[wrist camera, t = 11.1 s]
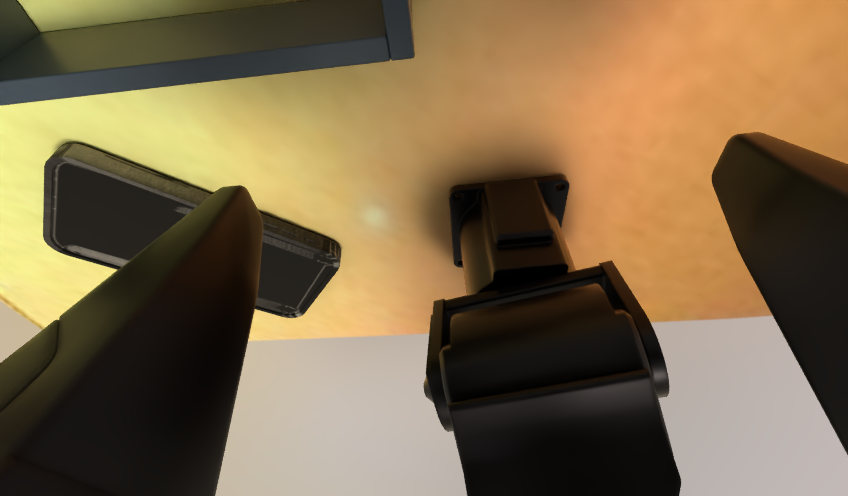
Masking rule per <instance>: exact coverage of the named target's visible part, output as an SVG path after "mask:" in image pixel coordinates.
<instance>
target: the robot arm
mask: <svg viewBox="0 0 848 496" xmlns="http://www.w3.org/2000/svg"><path fill="white" fill-rule="evenodd" d="M558 184H561V185H560V186H557V185H558ZM712 184H713V187H714V190H715V192H716V195H717V197H718V200H719V203H720V205H721V208H722V210H723V213H724V216H725V218H726V221H727V223H728V226H729V228H730V231H731V234H732V236H733V239H734V241H735V244H736V246H737V248H738V251H739V253H740V255H741V257H742V259H743V261H744V263H745V265H746V266H747V268H748V270H749V272H750V274H751V276H752V278H753V279H754V281H755V283H756V285H757V287H758V289H759V291H760V292H761V294H762V296H763V298H764V300H765V302H766V304H767V306H768V307H769V309H770V311H771V313H772V315H773V317H774V319H775V320H776V322H777V324H778V326H779V328H780V330H781V331H782V333H783V335H784V337H785V339H786V341H787V343H788V345H789V347H790V348H791V350H792V352H793V354H794V356H795V358H796V360H797V361H798V363H799V365H800V367H801V369H802V371H803V373H804V375H805V376H806V378H807V380H808V382H809V384H810V386H811V388H812V389H813V391H814V393H815V395H816V397H817V399H818V401H819V402H820V404H821V406H822V408H823V410H824V412H825V414H826V416H827V417H828V419H829V421H830V423H831V425H832V427H833V429H834V430H835V432H836V434H837V436H838V438H839V440H840V442H841V443H842V445H843V447H844V449H845V451H846V453H847V455H848V164H845V163H843V162H840V161H837V160H835V159H832V158H829V157H826V156H824V155H821V154H818V153H815V152H813V151H810V150H807V149H805V148H802V147H799V146H796V145H794V144H791V143H788V142H786V141H783V140H780V139H777V138H775V137H772V136H769V135H767V134H764V133H760V132H753V133H744V134H737V135H734V136H733V137H731V138H730V139H729V140H728V142H727V144H726V146H725V148H724V150H723V152H722V154H721V156H720V158H719V160H718V162H717V164H716V166H715V168H714V170H713V173H712ZM568 190H569V182H568V180H567V178H566V177H565V176H561V175H559V176H549V177H539V178H529V179H519V180H509V181H499V182H489V183H479V184H469V185H459V186H454V187H453V188H451V190H450V191H449V200H450V215H451V229H452V244H453V258H454V264H455V266H457V267H463V268H464V276H465V283H466V291H467V296H462V297H458V298H454V299H449V300H445V299H441V300H437V301H434V306H433V315H431V322H430V333H429V344H428V355H427V366H426V379H425V382H424V392H425V395H426V397H427V398H428V399H430V400H431V401H432V402H433V403H434V404H435V408H436V411H437V414H438V417H439V420H440V422H441V424H442V426H443V427H444V429H445V430H446V431H448V432H449V431H454V436H455V440H456V443H457V448H458V452H459V456H460V460H461V464H462V468H463V472H464V478H465V484H466V490H467V496H679V493H680V487H681V478H680V475H679V472H678V469H677V466H676V463H675V460H674V456H673V452H672V448H671V444H670V441H669V437H668V433H667V429H666V426H665V422H664V418H663V415H662V411H661V407H660V403H659V400H658V398H660V397H667V396H668V394H669V379H668V373H667V368H666V364H665V361H664V357H663V354H662V351H661V347H660V344H659V342H658V339H657V337H656V334H655V331H654V329H653V327H652V325H651V323H650V321H649V319H648V317H647V315H646V314H645V312H644V310H643V309H642V307H641V306H640V304H639V303H638V301H637V299H636V298H635V296H634V295H633V293H632V292H631V290H630V289H629V287H628V285H627V284H626V282H625V281H624V279H623V278H622V276H621V274H620V273H619V271H618V270H617V268H616V267H615V265H614V263H613V262H612V261H607V262H603V263H599V265H598V266H594V267H590V268H585V269H581V270H577V271H576V269H575V266H574V264H573V261H572V258H571V256H570V253H569V250H568V247H567V245H566V242H565V239H564V236H563V234H562V231H561V226H562V220H563V215H564V210H565V205H566V200H567V195H568ZM456 194H462V195H461V196H455V195H456ZM262 238H263V221H262V218H261V215H260V213H259V211H258V209H257V207H256V205H255V204H254V202H253V200H252V198H251V196H250V194H249V192H248V190H247V189H246V188H245V187H243V186H240V185H239V186H229V187H222V188H220V189H219V190H217V191H216V192H215V193H214V194H212V195H211V196H210V197H209V198H207V199H206V200H205V201H204V202H202V203H201V204H200V205H199V206H197V207H196V208H195V209H193V210H192V211H191V212H190V213H188V214H187V215H186V216H185V217H183V218H182V219H181V220H180V221H178V222H177V223H176V224H175V225H173V226H172V227H171V228H170V229H168V230H167V231H166V232H165V233H163V234H162V235H161V236H160V237H158V238H157V239H156V240H155V241H153V242H152V243H151V244H150V245H148V246H147V247H146V248H145V249H143V250H142V251H141V252H140V253H138V254H137V255H136V256H135V257H133V258H132V259H131V260H130V261H128V262H127V263H126V264H125V265H123V266H122V267H121V268H120V269H118V270H117V271H116V272H115V273H113V274H112V275H111V276H110V277H108V278H107V279H106V280H105V281H103V282H102V283H101V284H100V285H98V286H97V287H96V288H95V289H93V290H92V291H91V292H90V293H88V294H87V295H86V296H85V297H83V298H82V299H81V300H80V301H78V302H77V303H76V304H75V305H73V306H72V307H71V308H70V309H68V310H67V311H66V312H65V313H63V314H62V315H61V316H60V318H59V320H55V321H53V322H52V323H51V324H50V325H48V326H47V327H46V328H45V329H43V330H42V331H41V332H40V333H38V334H37V335H36V336H35V337H34V338H32V339H31V340H30V341H28V342H27V343H26V344H24V345H23V346H22V347H21V348H19V349H18V350H17V351H15V352H14V353H13V354H12V355H10V356H9V357H8V358H7V359H5V360H4V361H3V362H2V363H0V496H215V494H216V489H217V484H218V479H219V475H220V470H221V465H222V461H223V456H224V451H225V446H226V441H227V437H228V432H229V427H230V423H231V418H232V413H233V409H234V404H235V399H236V395H237V390H238V385H239V380H240V376H241V371H242V366H243V361H244V357H245V352H246V347H247V343H248V338H249V333H250V329H251V324H252V319H253V314H254V310H255V305H256V299H257V293H258V285H259V273H260V261H261V250H262Z"/></svg>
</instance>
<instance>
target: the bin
mask: <svg viewBox="0 0 848 496" xmlns="http://www.w3.org/2000/svg"><path fill="white" fill-rule="evenodd" d="M414 56H415V52H414V35H413V18H412V4H411V0H307V1H299V2H291V3H283V4H274V5H266V6H258V7H250V8H241V9H233V10H225V11H217V12H209V13H200V14H192V15H184V16H176V17H167V18H159V19H151V20H143V21H135V22H126V23H118V24H110V25H102V26H93V27H85V28H77V29H69V30H61V31H52V32H44V33H40V32H39V31H38V30H37V28H36V27H35V26H34V24H33V23H32V21H31V20H30V19H29V17H28V16H27V15H26V13H25V12H24V10H23V9H22V8H21V6H20V5H19V4H18V2H17V1H16V0H0V105H9V104H18V103H27V102H35V101H44V100H53V99H62V98H70V97H79V96H88V95H96V94H105V93H114V92H123V91H131V90H140V89H149V88H158V87H166V86H175V85H184V84H193V83H201V82H210V81H219V80H228V79H236V78H245V77H254V76H263V75H271V74H280V73H289V72H298V71H306V70H315V69H324V68H333V67H341V66H350V65H359V64H368V63H376V62H385V61H390V59H391V60H402V59H411V58H414Z"/></svg>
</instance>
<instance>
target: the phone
mask: <svg viewBox="0 0 848 496" xmlns="http://www.w3.org/2000/svg"><path fill="white" fill-rule="evenodd" d="M211 195H212V194H210V193H207V192H204V191H202V190H199V189H197V188H194V187H191V186H189V185H186V184H184V183H181V182H178V181H176V180H173V179H171V178H168V177H165V176H163V175H160V174H157V173H155V172H152V171H150V170H147V169H144V168H142V167H139V166H137V165H134V164H131V163H129V162H126V161H124V160H121V159H118V158H116V157H113V156H110V155H108V154H105V153H103V152H100V151H97V150H95V149H92V148H89V147H87V146H83V145H80V144H71V143H69V144H65V145H62V146H61V147H60V148H58V149H57V151H56V152H55V153H54V154H53V155H52V156H51V157H50V158H49V159H48V160H47V161H46V163H45V166H44V217H43V237H44V240H45V242H46V243H47V244H48V245H49V246H50V247H51V248H53V249H54V250H56V251H58V252H60V253H63V254H65V255H68V256H72V257H75V258H79V259H82V260H86V261H89V262H93V263H96V264H100V265H103V266H107V267H110V268H114V269H117V270H118V269H120V268H121V267H122V266H123V265H125V264H126V263H127V262H128V261H130V260H131V259H132V258H133V257H135V256H136V255H137V254H138V253H140V252H141V251H142V250H143V249H145V248H146V247H147V246H148V245H150V244H151V243H152V242H153V241H155V240H156V239H157V238H158V237H160V236H161V235H162V234H163V233H165V232H166V231H167V230H168V229H170V228H171V227H172V226H173V225H175V224H176V223H177V222H178V221H180V220H181V219H182V218H183V217H185V216H186V215H187V214H188V213H190V212H191V211H192V210H193V209H195V208H196V207H197V206H199V205H200V204H201V203H202V202H204V201H205V200H206V199H207V198H209V197H210V196H211ZM260 215H261V218H262V221H263V238H262V250H261V261H260V273H259V285H258V293H257V299H256V305H255V309H257V310H261V311H264V312H268V313H271V314H275V315H278V316H282V317H286V318H296V317H300V316H302V315H303V314H304V313H305V312H306V311H307V310H308V308H309V307H310V306H311V304H312V303H313V302H314V300H315V299H316V298H317V297H318V295H319V294H320V293H321V291H322V290H323V289H324V287H325V286H326V285H327V284H328V282H329V281H330V280H331V278H332V277H333V276H334V275H335V273H336V272H337V271H338V269H339V267H340V258H341V249H340V247H339V245H338V244H336V243H335V242H334V241H332V240H330V239H327V238H325V237H322V236H319V235H317V234H314V233H311V232H309V231H306V230H304V229H301V228H298V227H296V226H293V225H291V224H288V223H285V222H283V221H280V220H278V219H275V218H272V217H270V216H267V215H265V214H262V213H260Z"/></svg>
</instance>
